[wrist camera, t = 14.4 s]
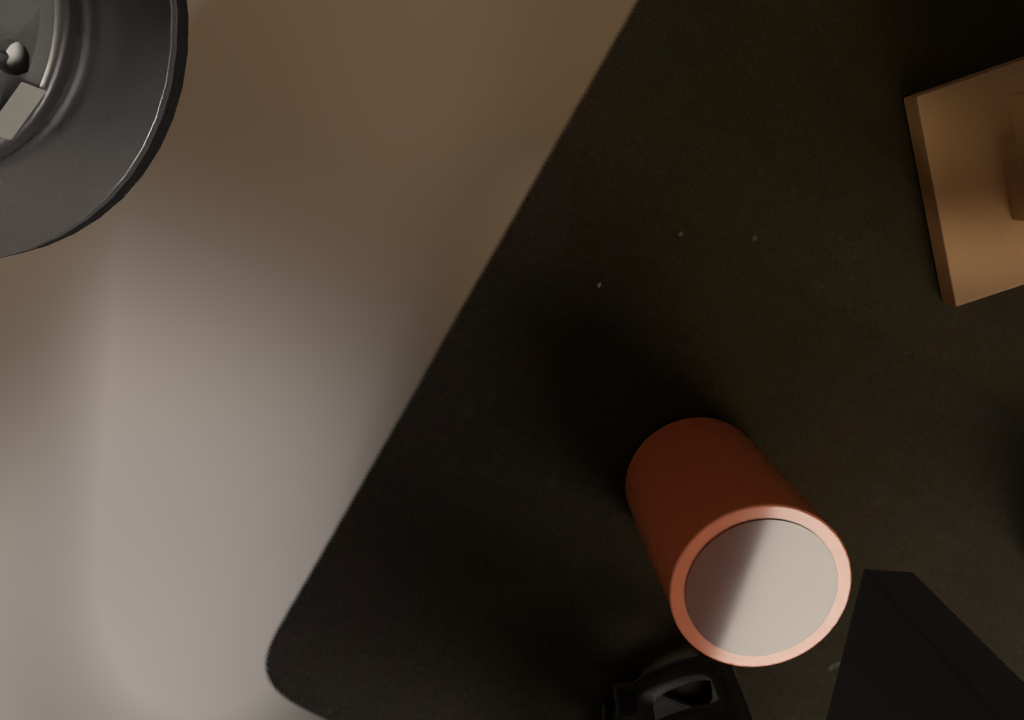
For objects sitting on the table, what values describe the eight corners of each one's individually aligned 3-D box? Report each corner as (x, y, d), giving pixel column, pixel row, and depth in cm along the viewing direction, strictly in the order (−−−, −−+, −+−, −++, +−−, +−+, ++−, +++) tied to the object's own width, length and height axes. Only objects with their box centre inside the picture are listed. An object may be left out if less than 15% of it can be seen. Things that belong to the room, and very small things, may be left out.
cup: (607, 443, 39) (648, 539, 29) (744, 397, 39) (831, 480, 29) (646, 563, 41) (697, 691, 31) (777, 521, 41) (870, 637, 31)
